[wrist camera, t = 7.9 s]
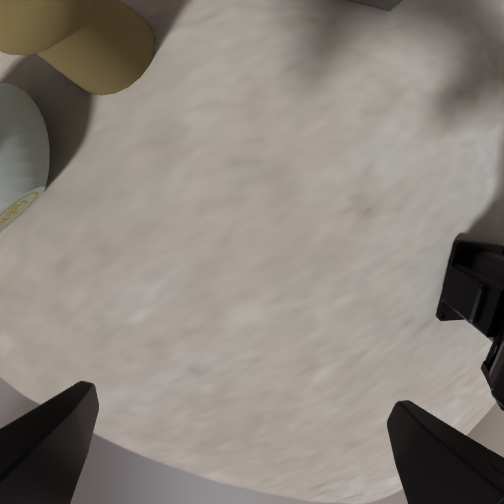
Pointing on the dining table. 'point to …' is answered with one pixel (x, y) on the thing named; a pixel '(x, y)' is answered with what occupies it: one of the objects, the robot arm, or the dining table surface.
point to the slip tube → (381, 3)
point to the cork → (80, 39)
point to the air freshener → (21, 153)
